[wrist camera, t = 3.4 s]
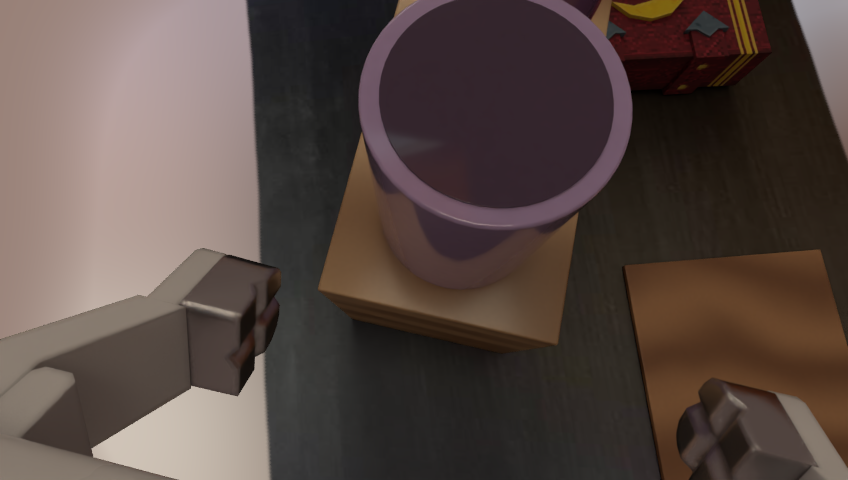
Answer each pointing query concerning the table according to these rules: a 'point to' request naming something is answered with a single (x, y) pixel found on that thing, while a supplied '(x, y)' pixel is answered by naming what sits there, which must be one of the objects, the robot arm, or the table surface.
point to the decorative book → (687, 42)
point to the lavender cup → (488, 131)
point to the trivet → (738, 338)
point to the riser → (433, 305)
